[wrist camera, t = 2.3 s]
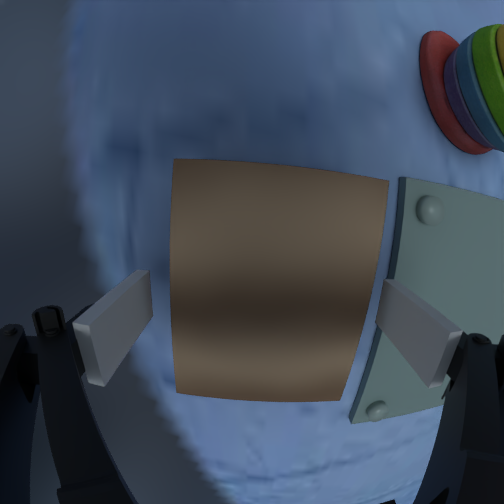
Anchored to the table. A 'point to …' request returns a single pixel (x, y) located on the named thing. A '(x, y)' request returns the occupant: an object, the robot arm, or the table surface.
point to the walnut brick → (270, 277)
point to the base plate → (437, 286)
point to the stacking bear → (466, 87)
